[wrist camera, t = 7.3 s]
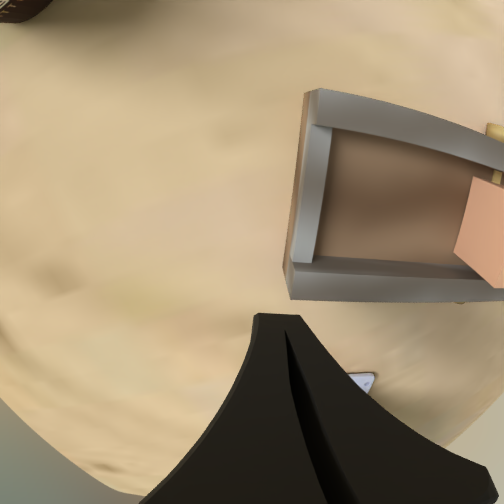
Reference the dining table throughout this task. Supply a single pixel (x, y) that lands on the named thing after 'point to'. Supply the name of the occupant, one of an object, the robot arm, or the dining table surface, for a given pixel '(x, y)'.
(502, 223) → the salmon orange block
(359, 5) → the dining table surface
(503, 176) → the grey rectangular tray
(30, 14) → the coffee mug
